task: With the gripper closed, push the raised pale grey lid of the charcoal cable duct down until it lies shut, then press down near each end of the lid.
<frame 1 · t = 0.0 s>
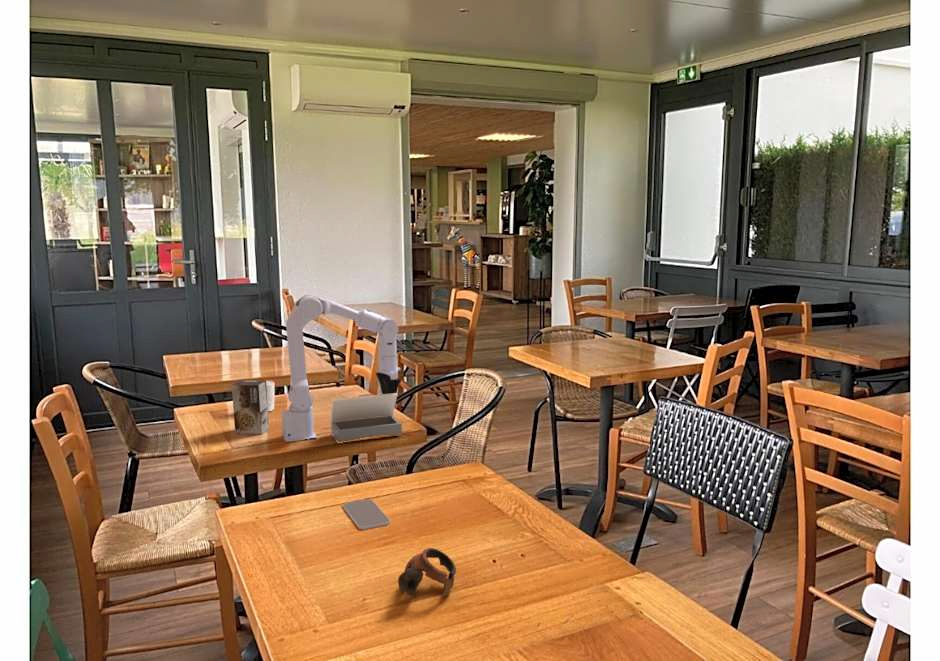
hand: (388, 396, 228), 10 cm above the table, tool pointing down, fingers open, 7 cm apart
cable duct: (366, 435, 221), on the table
coffee box: (252, 431, 226), on the table
white cup: (264, 411, 249), on the table
smartphone: (365, 516, 163), on the table
brown looped part: (423, 592, 130), on the table
duct lid: (363, 406, 222), point 9 cm above the table, hinge at 55.0°
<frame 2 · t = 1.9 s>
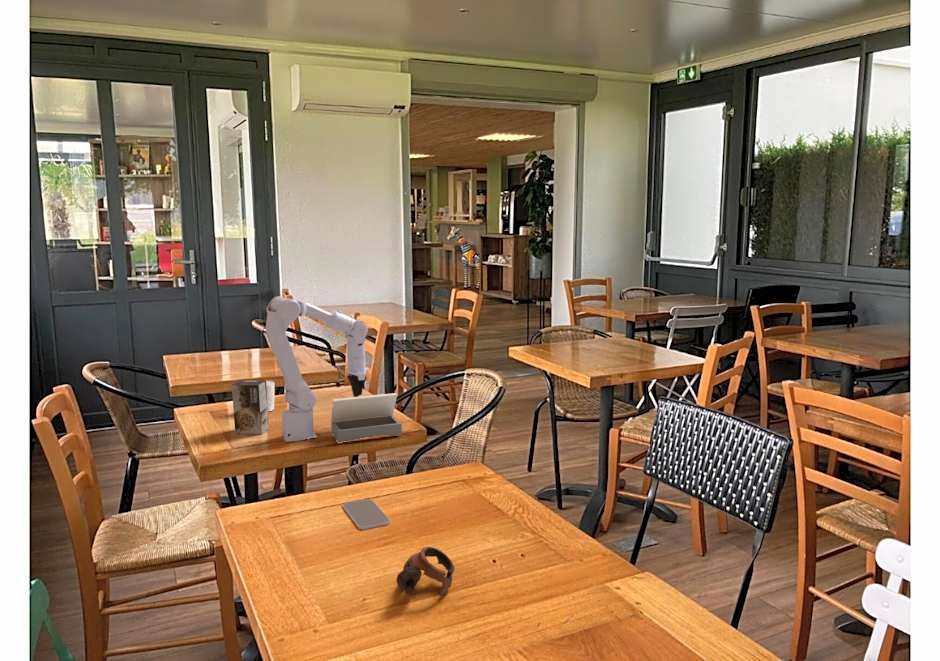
hand: (357, 397, 230), 9 cm above the table, tool pointing down, fingers closed
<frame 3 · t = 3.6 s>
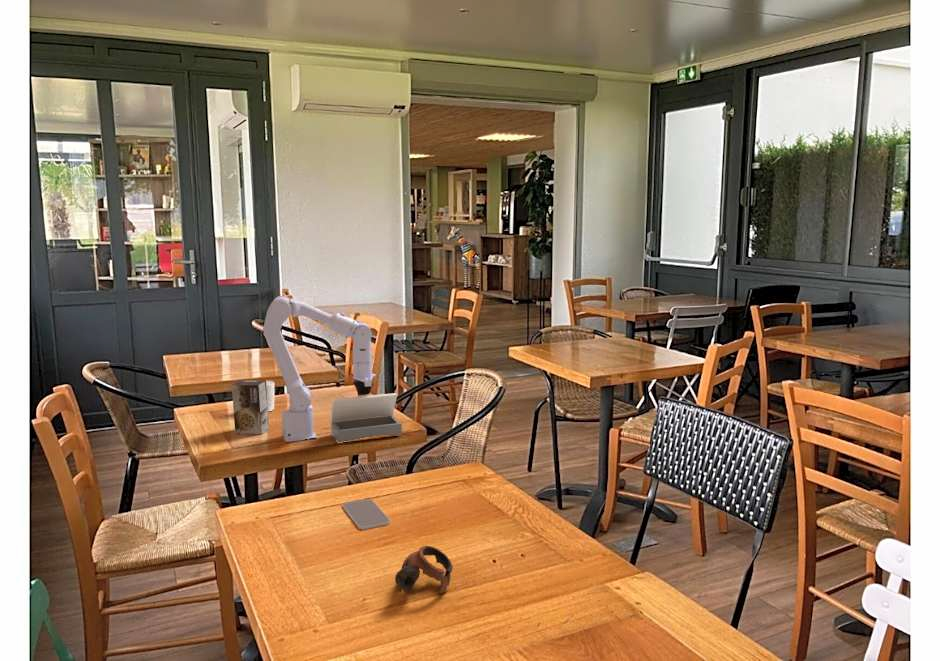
hand: (363, 403, 222), 9 cm above the table, tool pointing down, fingers closed, pressing on duct lid
duct lid: (363, 406, 222), point 9 cm above the table, hinge at 55.0°, touching gripper
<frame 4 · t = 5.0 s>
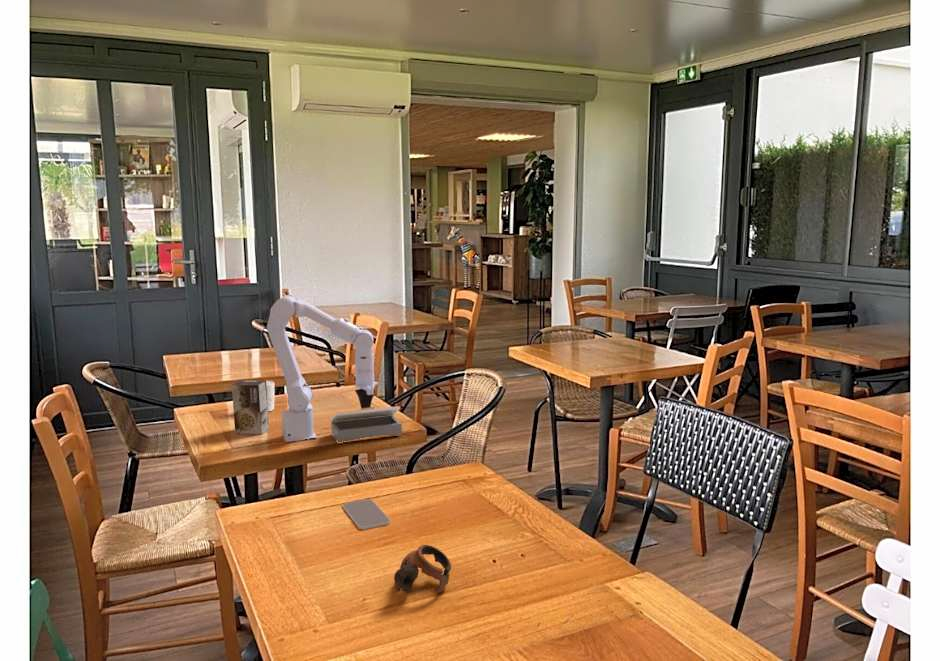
hand: (365, 412, 220), 7 cm above the table, tool pointing down, fingers closed, pressing on duct lid
duct lid: (365, 413, 221), point 7 cm above the table, hinge at 26.7°, touching gripper
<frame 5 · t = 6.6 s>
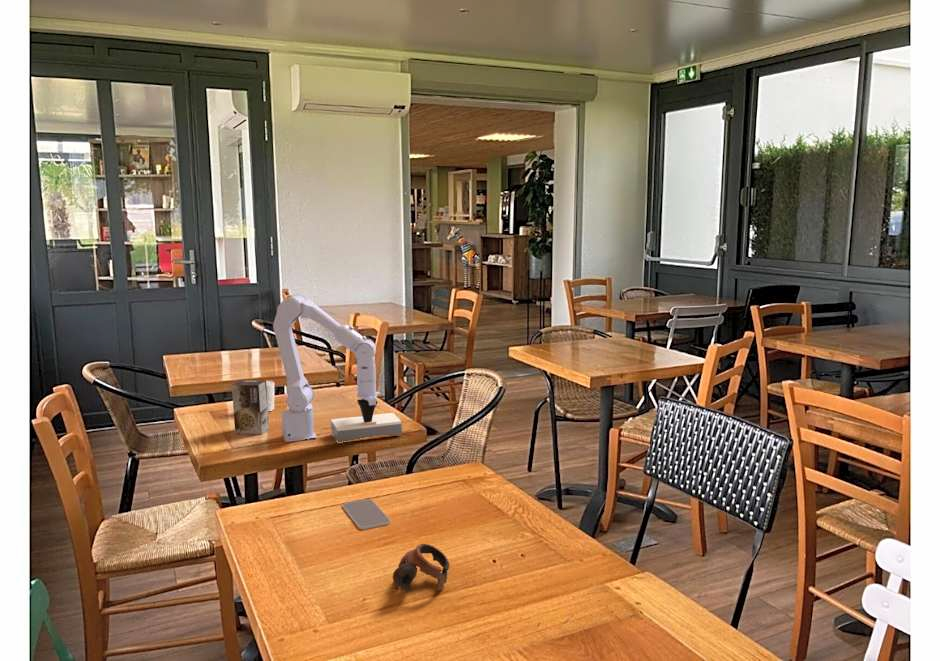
hand: (367, 422, 219), 5 cm above the table, tool pointing down, fingers closed, pressing on duct lid
duct lid: (366, 420, 220), point 5 cm above the table, hinge at -0.3°, touching cable duct, gripper
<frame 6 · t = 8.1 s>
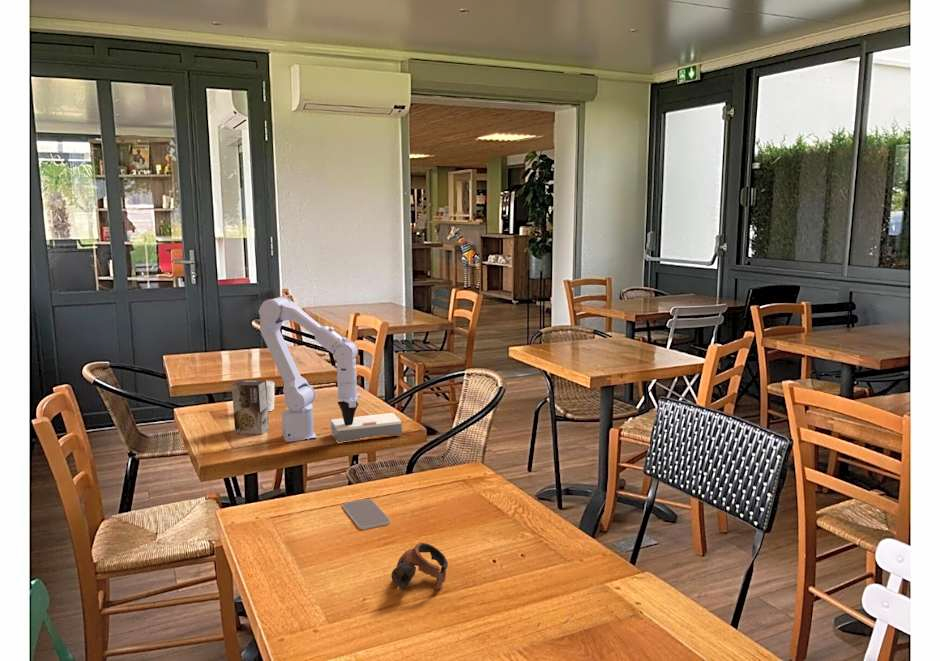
hand: (348, 424, 216), 5 cm above the table, tool pointing down, fingers closed, pressing on duct lid
duct lid: (366, 420, 220), point 5 cm above the table, hinge at -0.3°, touching cable duct, gripper
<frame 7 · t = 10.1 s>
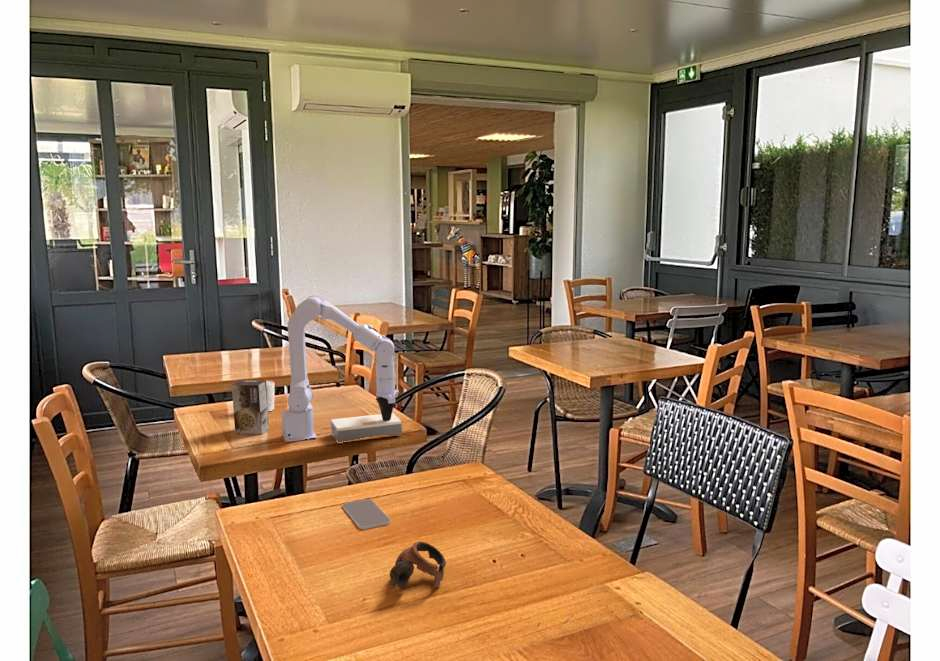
hand: (386, 420, 221), 5 cm above the table, tool pointing down, fingers closed, pressing on duct lid
duct lid: (366, 420, 220), point 5 cm above the table, hinge at -0.3°, touching cable duct, gripper
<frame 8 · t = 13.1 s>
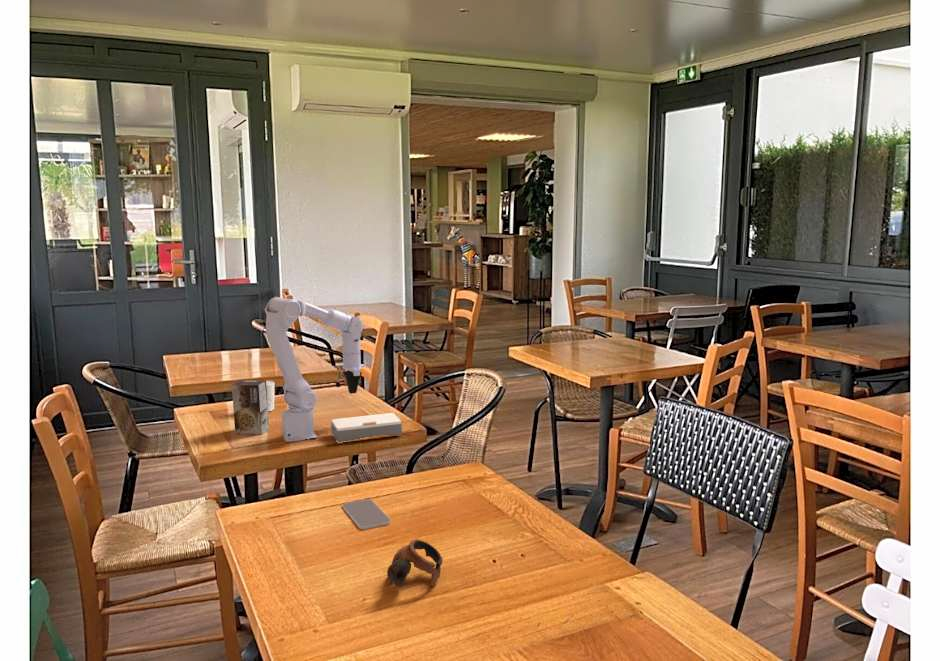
hand: (352, 392, 232), 10 cm above the table, tool pointing down, fingers closed
duct lid: (366, 420, 220), point 5 cm above the table, hinge at -0.3°, touching cable duct
at the end: duct lid at +0° (first picture: +55°) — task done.
